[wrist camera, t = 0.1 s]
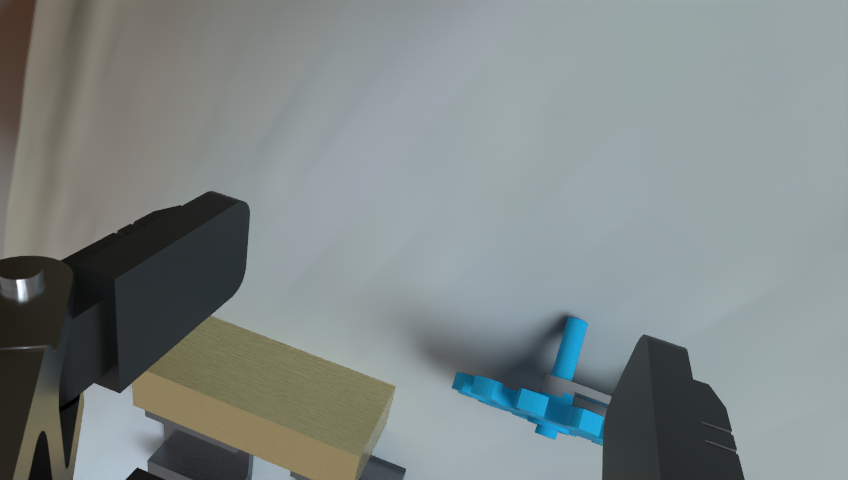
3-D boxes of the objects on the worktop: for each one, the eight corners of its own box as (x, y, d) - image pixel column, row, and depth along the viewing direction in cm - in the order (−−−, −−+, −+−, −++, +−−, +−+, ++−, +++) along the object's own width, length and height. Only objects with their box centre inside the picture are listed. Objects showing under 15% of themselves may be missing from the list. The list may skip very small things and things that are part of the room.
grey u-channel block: (168, 375, 42) (144, 398, 40) (406, 469, 39) (393, 500, 37) (170, 450, 46) (148, 475, 44) (385, 541, 43) (373, 572, 41)
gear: (435, 397, 33) (468, 405, 24) (468, 299, 35) (512, 269, 25) (616, 463, 34) (721, 498, 24) (641, 364, 35) (750, 359, 26)
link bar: (196, 308, 38) (131, 364, 33) (396, 384, 36) (359, 457, 31) (195, 346, 40) (133, 405, 35) (387, 421, 38) (350, 495, 33)
